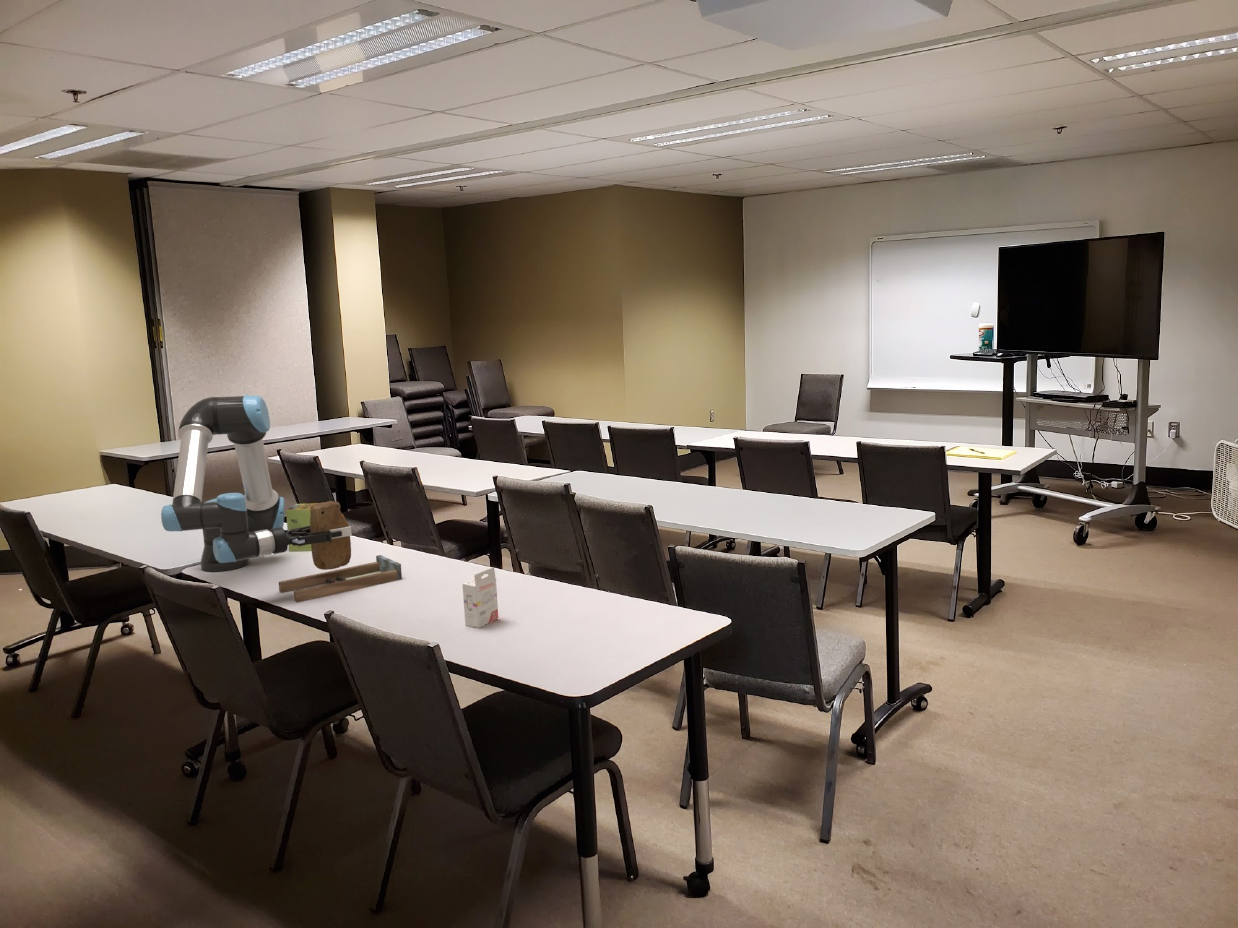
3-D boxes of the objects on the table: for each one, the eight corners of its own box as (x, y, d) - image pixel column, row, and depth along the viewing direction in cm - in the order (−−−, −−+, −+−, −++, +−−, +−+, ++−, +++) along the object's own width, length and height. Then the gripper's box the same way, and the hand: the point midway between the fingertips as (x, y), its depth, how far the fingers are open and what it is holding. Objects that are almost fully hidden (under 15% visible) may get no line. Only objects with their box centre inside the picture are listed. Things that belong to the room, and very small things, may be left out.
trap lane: (279, 591, 282) (277, 575, 282) (381, 569, 303) (380, 554, 302) (297, 602, 271) (295, 585, 270) (401, 579, 292) (400, 563, 291)
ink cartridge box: (484, 616, 254) (482, 564, 251) (499, 618, 251) (496, 566, 249) (464, 625, 247) (460, 572, 244) (478, 628, 244) (475, 574, 242)
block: (321, 572, 277) (315, 507, 274) (311, 567, 283) (305, 503, 279) (355, 565, 284) (350, 501, 281) (344, 560, 290) (339, 498, 286)
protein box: (331, 550, 330) (327, 508, 327) (288, 551, 330) (284, 509, 328) (340, 543, 340) (337, 502, 338) (299, 544, 340) (295, 503, 338)
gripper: (260, 547, 279) (334, 534, 293) (283, 560, 263) (359, 546, 277) (258, 523, 278) (332, 511, 292) (280, 535, 262) (357, 522, 276)
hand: (345, 528), depth 284 cm, fingers closed on block, 7 cm apart
